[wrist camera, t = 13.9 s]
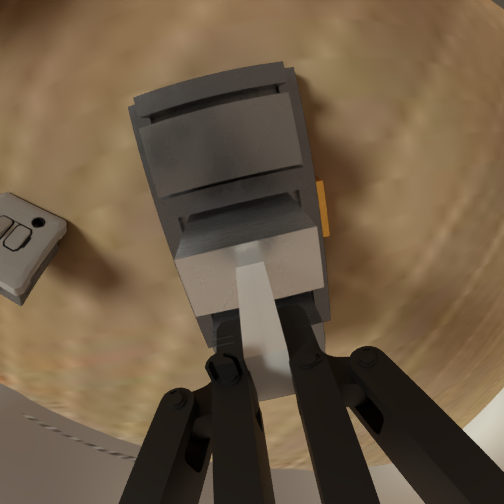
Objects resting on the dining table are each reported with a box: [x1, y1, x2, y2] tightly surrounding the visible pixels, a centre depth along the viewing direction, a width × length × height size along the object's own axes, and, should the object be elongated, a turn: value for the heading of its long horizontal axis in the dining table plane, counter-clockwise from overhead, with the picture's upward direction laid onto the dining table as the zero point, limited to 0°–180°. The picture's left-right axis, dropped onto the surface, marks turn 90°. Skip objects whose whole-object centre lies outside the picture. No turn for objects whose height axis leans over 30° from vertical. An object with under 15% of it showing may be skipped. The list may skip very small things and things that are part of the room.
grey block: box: [174, 192, 324, 317], centre depth 21 cm, size 4×8×9 cm, turn 102°
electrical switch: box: [0, 192, 67, 306], centre depth 20 cm, size 9×5×9 cm, turn 63°
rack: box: [128, 61, 331, 354], centre depth 22 cm, size 24×14×9 cm, turn 12°
